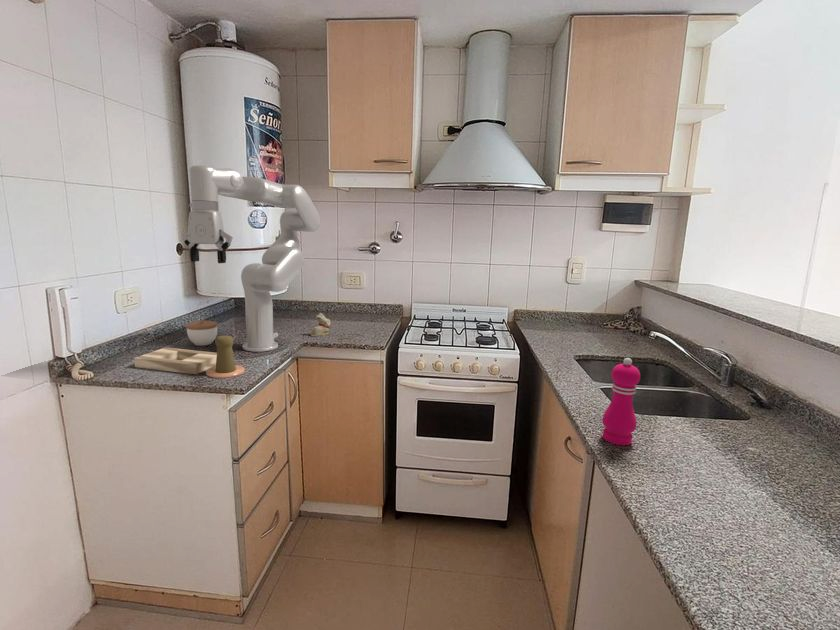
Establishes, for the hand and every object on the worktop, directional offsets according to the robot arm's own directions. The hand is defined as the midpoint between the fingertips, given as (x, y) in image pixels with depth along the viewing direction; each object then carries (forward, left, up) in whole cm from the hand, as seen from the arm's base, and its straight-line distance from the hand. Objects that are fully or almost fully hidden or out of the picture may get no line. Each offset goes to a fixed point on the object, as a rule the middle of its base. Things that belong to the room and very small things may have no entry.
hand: (208, 262), depth 140 cm
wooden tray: (+6, -8, -33) cm, 35 cm away
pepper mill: (+22, +122, -34) cm, 129 cm away
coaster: (+8, +10, -33) cm, 36 cm away
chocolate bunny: (-45, +18, -34) cm, 59 cm away
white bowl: (-18, -18, -34) cm, 42 cm away
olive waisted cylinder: (+8, +10, -33) cm, 35 cm away
